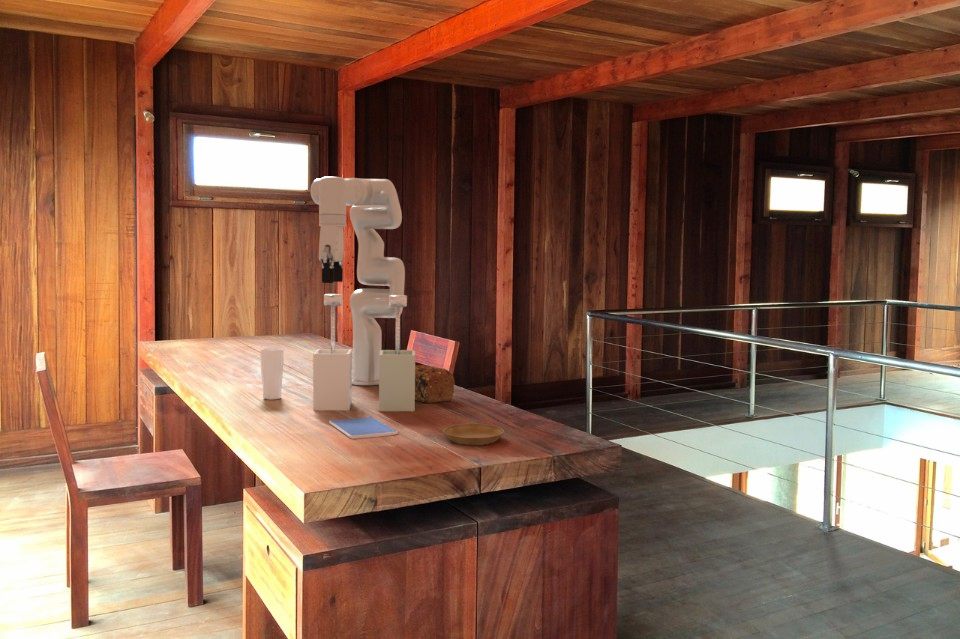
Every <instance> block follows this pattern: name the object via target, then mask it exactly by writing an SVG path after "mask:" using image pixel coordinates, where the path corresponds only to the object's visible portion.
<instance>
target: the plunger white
mask: <svg viewBox="0 0 960 639" xmlns="http://www.w3.org/2000/svg"><path fill="white" fill-rule="evenodd" d="M323 306H327V307H330V349H331V354H335V349H336V307H339V306H343V294H342V293H340V294H339V293H325V294H323Z"/></svg>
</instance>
